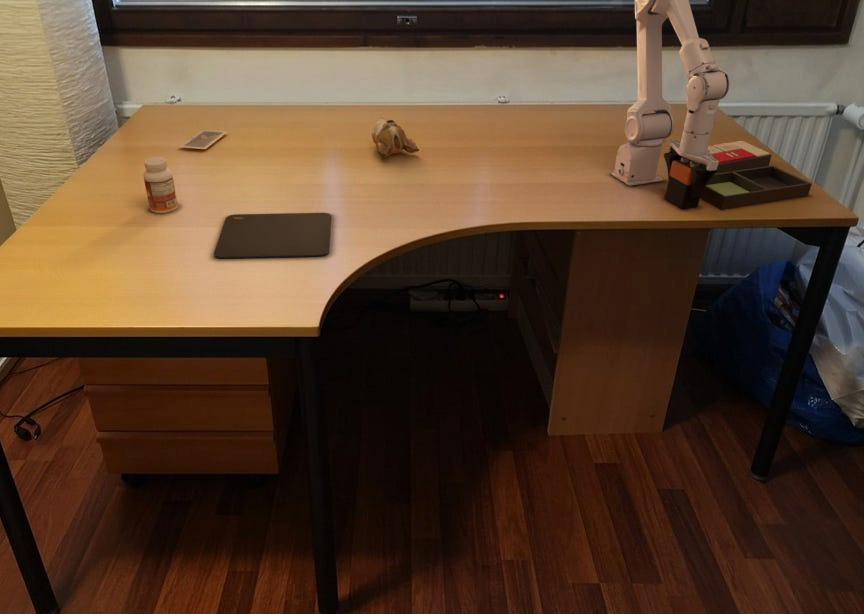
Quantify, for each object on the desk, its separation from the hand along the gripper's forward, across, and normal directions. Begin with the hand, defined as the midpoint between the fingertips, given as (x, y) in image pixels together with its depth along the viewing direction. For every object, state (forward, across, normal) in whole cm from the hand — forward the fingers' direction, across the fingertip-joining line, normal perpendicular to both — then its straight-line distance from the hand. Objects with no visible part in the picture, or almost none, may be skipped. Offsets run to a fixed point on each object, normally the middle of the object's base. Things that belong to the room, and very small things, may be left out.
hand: (683, 190), depth 166 cm
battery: (+3, 0, 0) cm, 3 cm away
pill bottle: (+3, +35, +111) cm, 116 cm away
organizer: (+3, 0, -18) cm, 18 cm away
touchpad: (+3, +77, +97) cm, 124 cm away
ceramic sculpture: (+3, +53, +51) cm, 74 cm away
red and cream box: (+3, +16, -26) cm, 31 cm away
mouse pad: (+3, +13, +90) cm, 91 cm away
